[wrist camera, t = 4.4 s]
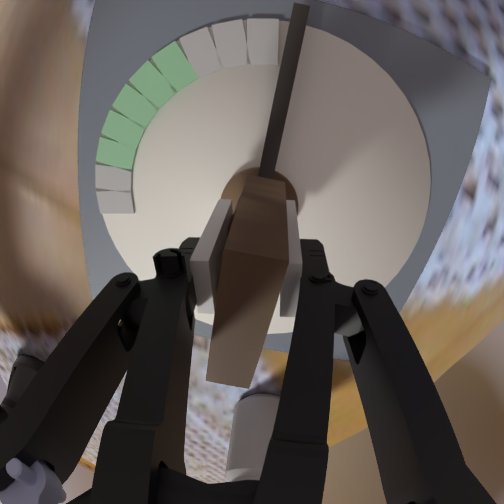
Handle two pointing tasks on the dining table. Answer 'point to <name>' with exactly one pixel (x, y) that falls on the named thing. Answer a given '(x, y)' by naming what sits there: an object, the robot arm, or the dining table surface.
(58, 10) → the dining table surface
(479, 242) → the dining table surface
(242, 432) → the can
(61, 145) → the dining table surface
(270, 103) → the dial board
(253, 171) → the dial pointer knob
